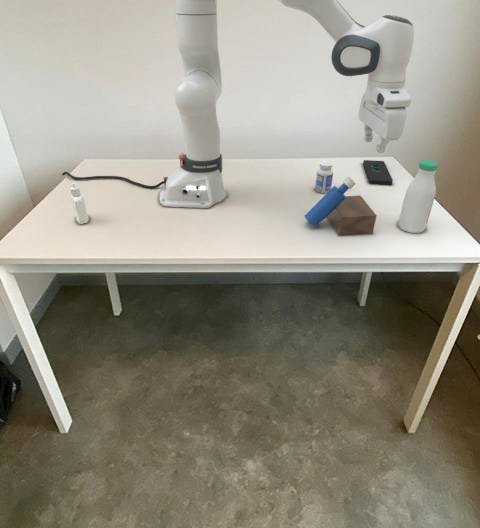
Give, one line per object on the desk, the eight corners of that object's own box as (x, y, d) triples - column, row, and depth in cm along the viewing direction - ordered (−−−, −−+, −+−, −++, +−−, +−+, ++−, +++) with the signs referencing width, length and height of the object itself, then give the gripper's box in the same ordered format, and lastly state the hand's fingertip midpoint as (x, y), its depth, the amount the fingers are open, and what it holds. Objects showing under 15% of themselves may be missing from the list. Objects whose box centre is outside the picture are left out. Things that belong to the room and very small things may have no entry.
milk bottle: (421, 236, 116) (441, 170, 105) (394, 229, 120) (411, 164, 108) (427, 225, 122) (447, 160, 110) (401, 218, 125) (417, 155, 113)
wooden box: (339, 235, 116) (342, 217, 113) (326, 214, 127) (328, 196, 124) (372, 233, 117) (376, 215, 114) (357, 212, 128) (360, 195, 124)
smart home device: (384, 160, 160) (393, 180, 144) (383, 164, 161) (392, 185, 145) (362, 159, 161) (369, 179, 145) (362, 163, 162) (368, 184, 146)
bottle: (305, 230, 119) (311, 182, 110) (301, 222, 123) (307, 175, 114) (350, 227, 120) (359, 180, 112) (345, 220, 124) (353, 173, 115)
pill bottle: (330, 187, 144) (333, 160, 138) (331, 193, 139) (335, 166, 134) (314, 186, 144) (317, 160, 138) (315, 193, 140) (318, 166, 134)
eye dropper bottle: (72, 224, 122) (62, 187, 115) (79, 215, 126) (69, 179, 119) (86, 224, 121) (77, 187, 115) (93, 215, 126) (84, 179, 119)
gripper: (357, 83, 109) (349, 134, 117) (388, 102, 93) (377, 160, 101) (379, 82, 110) (370, 134, 118) (414, 101, 93) (401, 159, 101)
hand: (373, 146), depth 109 cm, fingers open, 7 cm apart
